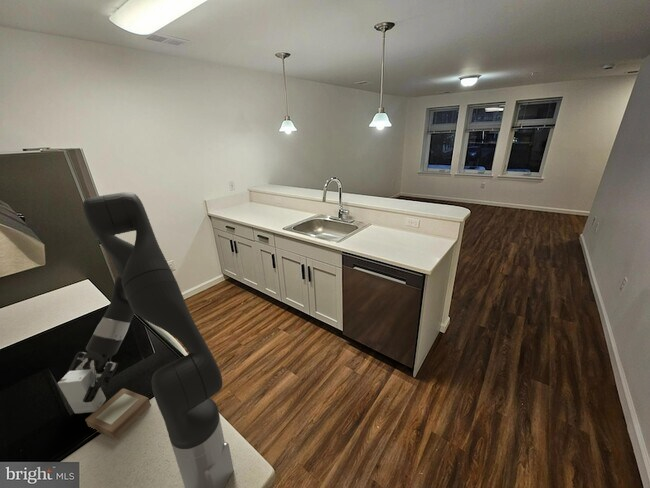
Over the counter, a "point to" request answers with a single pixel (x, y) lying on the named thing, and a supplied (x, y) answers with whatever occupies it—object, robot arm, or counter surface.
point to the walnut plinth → (118, 413)
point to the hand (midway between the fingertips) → (77, 397)
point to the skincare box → (80, 391)
